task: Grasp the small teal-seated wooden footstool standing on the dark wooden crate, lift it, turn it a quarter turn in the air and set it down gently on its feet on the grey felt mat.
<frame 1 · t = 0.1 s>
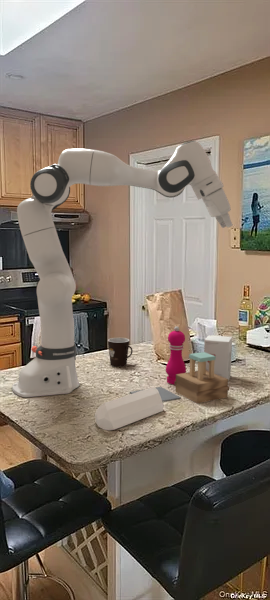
hand: (227, 226, 155), 54 cm above the countertop, tool tilted 30°, fingers open, 8 cm apart
pepper mill: (175, 382, 168), on the countertop
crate: (201, 394, 155), on the countertop
stool: (201, 376, 154), point 6 cm above the countertop, touching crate
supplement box: (216, 378, 173), on the countertop
crystal: (130, 419, 135), on the countertop
mat: (154, 395, 153), on the countertop
coffee mug: (119, 366, 188), on the countertop
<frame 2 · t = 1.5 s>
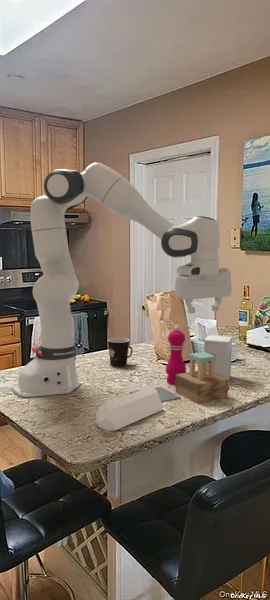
hand: (203, 312, 151), 27 cm above the countertop, tool pointing down, fingers open, 8 cm apart
nothing on the countertop moved.
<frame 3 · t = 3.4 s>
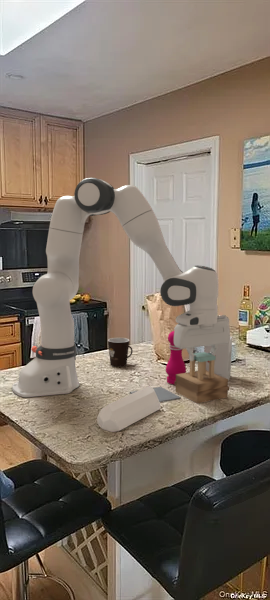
hand: (202, 359, 153), 12 cm above the countertop, tool pointing down, fingers closed on stool, 6 cm apart
stool: (201, 376, 154), point 6 cm above the countertop, touching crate, gripper
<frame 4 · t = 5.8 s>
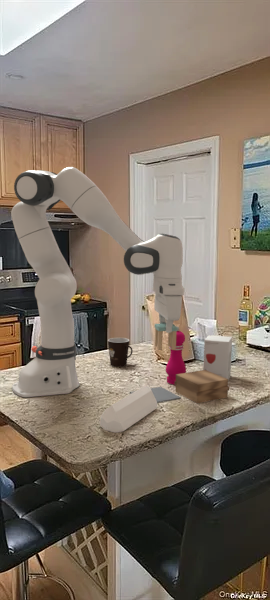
hand: (165, 329, 150), 22 cm above the countertop, tool pointing down, fingers closed on stool, 6 cm apart
stool: (164, 347, 151), point 16 cm above the countertop, touching gripper
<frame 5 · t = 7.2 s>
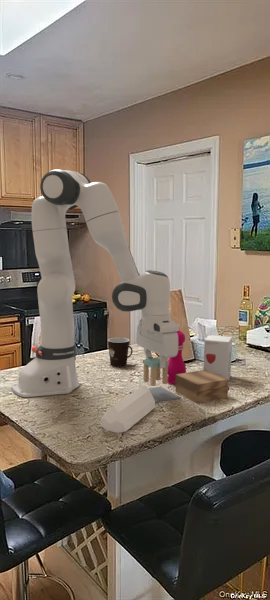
hand: (155, 364, 152), 10 cm above the countertop, tool pointing down, fingers closed on stool, 6 cm apart
stool: (155, 382, 152), point 4 cm above the countertop, touching gripper
when the fingers open (7 cm above the countertop, at t = 8.4 s): stool stays where it is, resting on mat.
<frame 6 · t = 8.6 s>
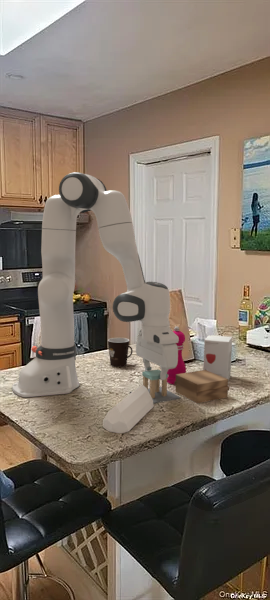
hand: (155, 375, 152), 7 cm above the countertop, tool pointing down, fingers open, 7 cm apart
stool: (154, 394, 153), resting on mat
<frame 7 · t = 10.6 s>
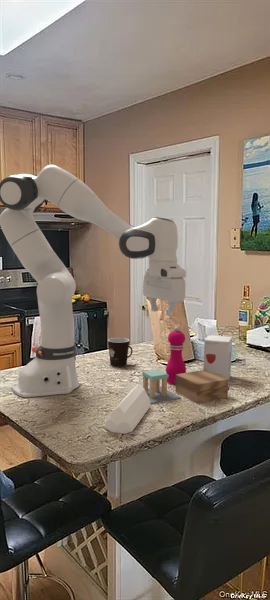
hand: (162, 313, 151), 27 cm above the countertop, tool pointing down, fingers open, 8 cm apart
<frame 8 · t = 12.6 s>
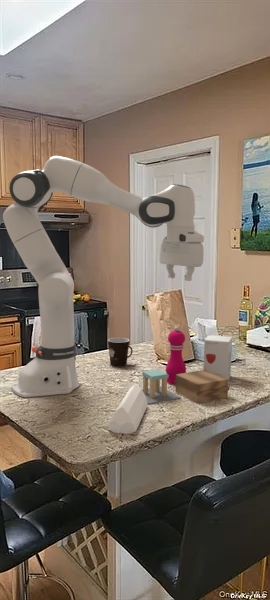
hand: (179, 279, 154), 37 cm above the countertop, tool pointing down, fingers open, 8 cm apart
at the end: stool inside the target area on the mat (0.1 cm from its centre), point 0.4 cm above the mat's base; stool tilted 0°; the gripper is holding nothing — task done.
